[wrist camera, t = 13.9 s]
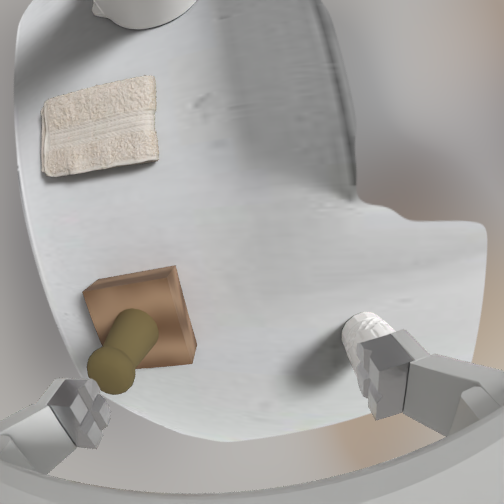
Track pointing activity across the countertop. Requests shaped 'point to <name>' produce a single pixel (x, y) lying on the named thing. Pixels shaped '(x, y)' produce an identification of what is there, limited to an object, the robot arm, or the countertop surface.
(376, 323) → the white cup
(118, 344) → the olive tapered upright piece
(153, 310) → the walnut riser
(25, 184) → the countertop surface
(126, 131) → the washcloth
